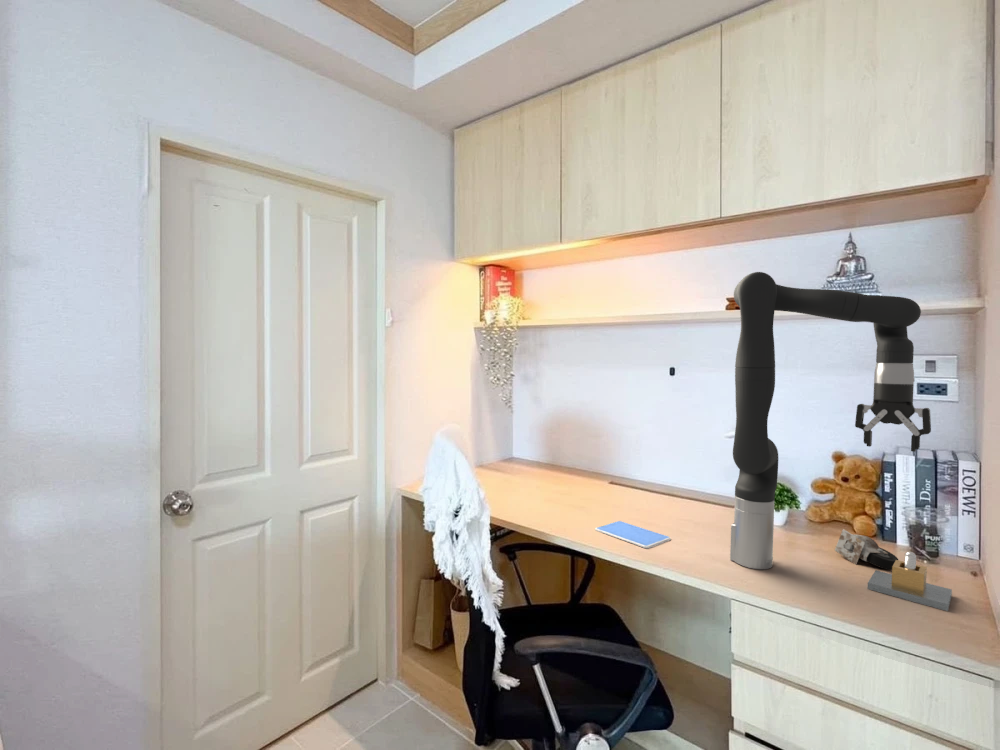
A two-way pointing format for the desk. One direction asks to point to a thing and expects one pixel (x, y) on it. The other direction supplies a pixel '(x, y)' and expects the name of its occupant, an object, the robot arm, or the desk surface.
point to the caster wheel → (864, 550)
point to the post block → (931, 596)
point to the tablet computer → (633, 534)
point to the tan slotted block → (909, 577)
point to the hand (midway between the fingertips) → (890, 448)
